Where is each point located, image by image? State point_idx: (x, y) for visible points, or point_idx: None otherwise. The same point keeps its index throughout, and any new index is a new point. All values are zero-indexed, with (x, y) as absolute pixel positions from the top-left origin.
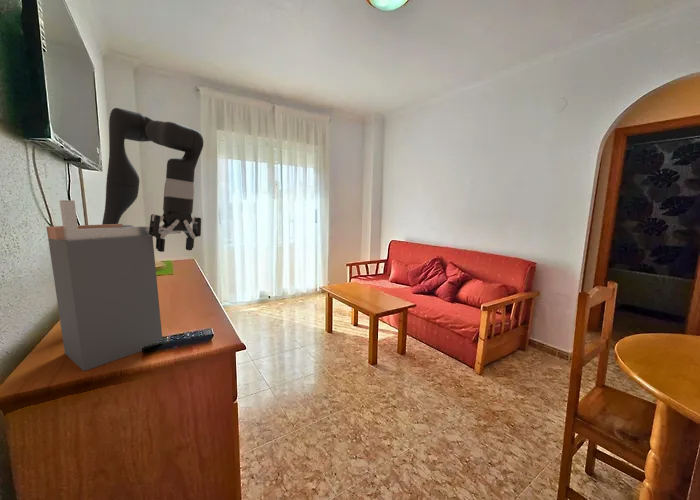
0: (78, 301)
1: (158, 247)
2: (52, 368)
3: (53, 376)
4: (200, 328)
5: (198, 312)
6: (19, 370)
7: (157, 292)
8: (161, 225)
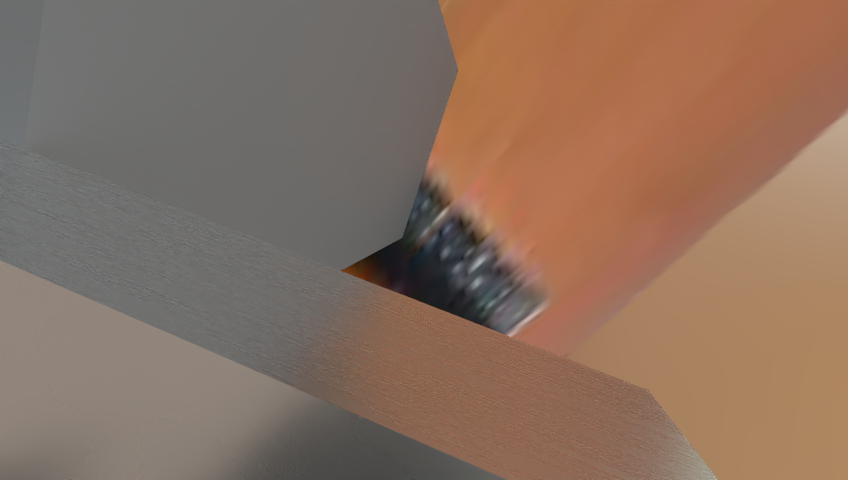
0: None
1: None
2: None
3: None
4: (532, 265)
5: (696, 124)
6: None
7: (339, 269)
8: (169, 361)
